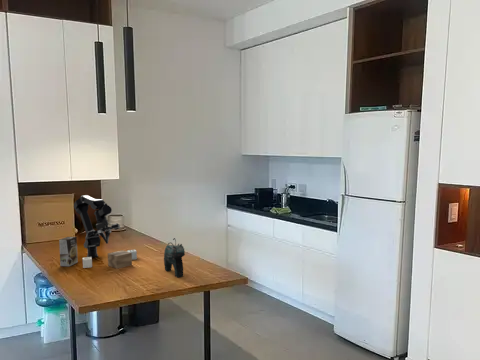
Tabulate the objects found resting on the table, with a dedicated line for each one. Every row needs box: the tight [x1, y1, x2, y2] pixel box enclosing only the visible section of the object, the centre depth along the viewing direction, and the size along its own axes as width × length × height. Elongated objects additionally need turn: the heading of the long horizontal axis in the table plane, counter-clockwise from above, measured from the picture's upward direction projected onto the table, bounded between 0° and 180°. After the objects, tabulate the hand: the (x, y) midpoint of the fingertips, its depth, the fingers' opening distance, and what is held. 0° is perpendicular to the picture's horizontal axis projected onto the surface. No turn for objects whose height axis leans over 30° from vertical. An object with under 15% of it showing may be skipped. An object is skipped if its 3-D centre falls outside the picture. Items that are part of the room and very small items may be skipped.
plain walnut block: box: [107, 250, 133, 270], centre depth 261 cm, size 10×10×8 cm
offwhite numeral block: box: [82, 256, 93, 269], centre depth 261 cm, size 5×5×5 cm
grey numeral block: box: [127, 249, 138, 261], centre depth 277 cm, size 5×5×5 cm
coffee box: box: [58, 236, 79, 267], centre depth 266 cm, size 9×6×16 cm
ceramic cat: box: [163, 238, 186, 279], centre depth 241 cm, size 20×6×20 cm, turn 32°
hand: (107, 243), depth 268 cm, fingers closed
